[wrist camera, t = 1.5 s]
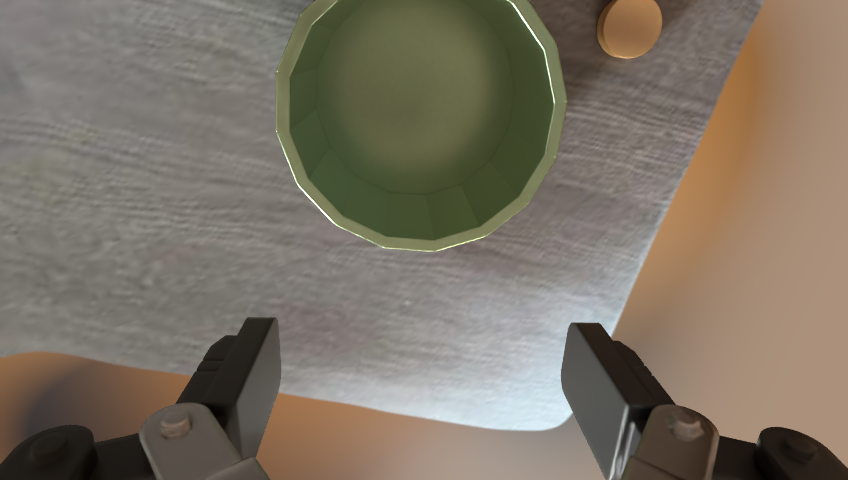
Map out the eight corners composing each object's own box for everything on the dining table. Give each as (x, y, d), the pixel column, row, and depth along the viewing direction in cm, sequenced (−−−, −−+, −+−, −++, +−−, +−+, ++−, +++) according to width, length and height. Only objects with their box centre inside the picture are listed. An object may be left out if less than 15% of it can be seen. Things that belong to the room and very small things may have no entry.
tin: (272, 19, 32) (226, 10, 23) (493, -53, 31) (532, -92, 22) (350, 225, 37) (336, 281, 28) (541, 167, 36) (588, 206, 28)
